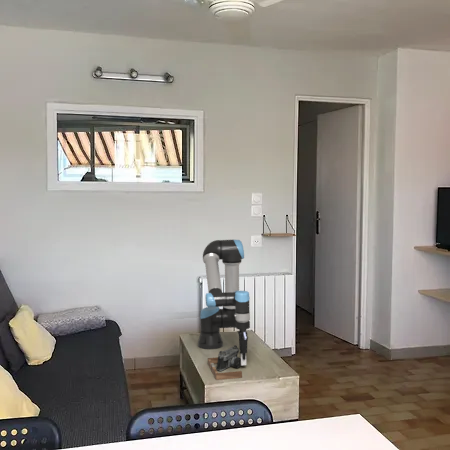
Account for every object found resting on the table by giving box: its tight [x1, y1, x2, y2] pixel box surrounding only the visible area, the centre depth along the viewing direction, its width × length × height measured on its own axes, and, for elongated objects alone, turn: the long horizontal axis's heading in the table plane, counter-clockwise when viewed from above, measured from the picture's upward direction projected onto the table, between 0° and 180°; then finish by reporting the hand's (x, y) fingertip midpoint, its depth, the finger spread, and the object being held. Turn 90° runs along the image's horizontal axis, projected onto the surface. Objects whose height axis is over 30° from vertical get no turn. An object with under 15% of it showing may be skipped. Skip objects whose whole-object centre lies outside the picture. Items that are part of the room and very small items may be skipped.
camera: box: [215, 344, 242, 372], centre depth 276 cm, size 18×9×10 cm, turn 148°
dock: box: [207, 356, 243, 381], centre depth 273 cm, size 25×13×4 cm, turn 12°
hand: (243, 364), depth 274 cm, fingers closed
